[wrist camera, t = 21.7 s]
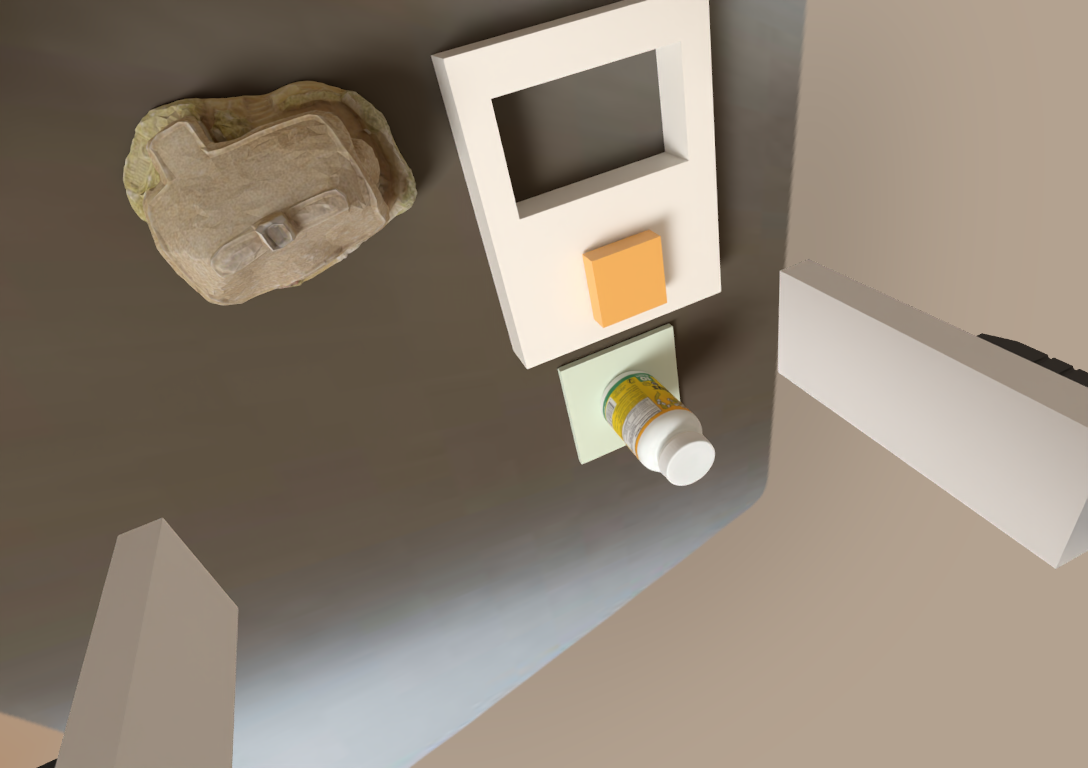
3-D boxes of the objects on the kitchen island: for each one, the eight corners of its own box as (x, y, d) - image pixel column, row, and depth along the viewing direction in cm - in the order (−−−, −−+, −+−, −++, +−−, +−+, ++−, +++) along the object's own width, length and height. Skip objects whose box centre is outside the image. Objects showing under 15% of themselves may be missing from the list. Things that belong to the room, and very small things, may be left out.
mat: (579, 460, 54) (581, 464, 54) (557, 368, 48) (560, 371, 48) (678, 417, 56) (682, 420, 55) (668, 323, 50) (672, 326, 50)
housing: (513, 350, 46) (527, 369, 44) (430, 55, 34) (443, 58, 32) (698, 277, 49) (721, 291, 47) (679, -16, 37) (707, -18, 35)
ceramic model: (224, 319, 38) (214, 403, 30) (81, 141, 31) (18, 188, 23) (430, 214, 39) (474, 268, 31) (336, 23, 32) (361, 29, 24)
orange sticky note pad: (576, 302, 46) (603, 328, 42) (564, 240, 43) (591, 261, 39) (636, 280, 47) (667, 302, 43) (628, 217, 44) (660, 236, 40)
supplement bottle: (586, 401, 50) (644, 472, 43) (634, 355, 50) (702, 418, 42) (621, 433, 53) (681, 504, 46) (666, 390, 53) (734, 455, 45)
